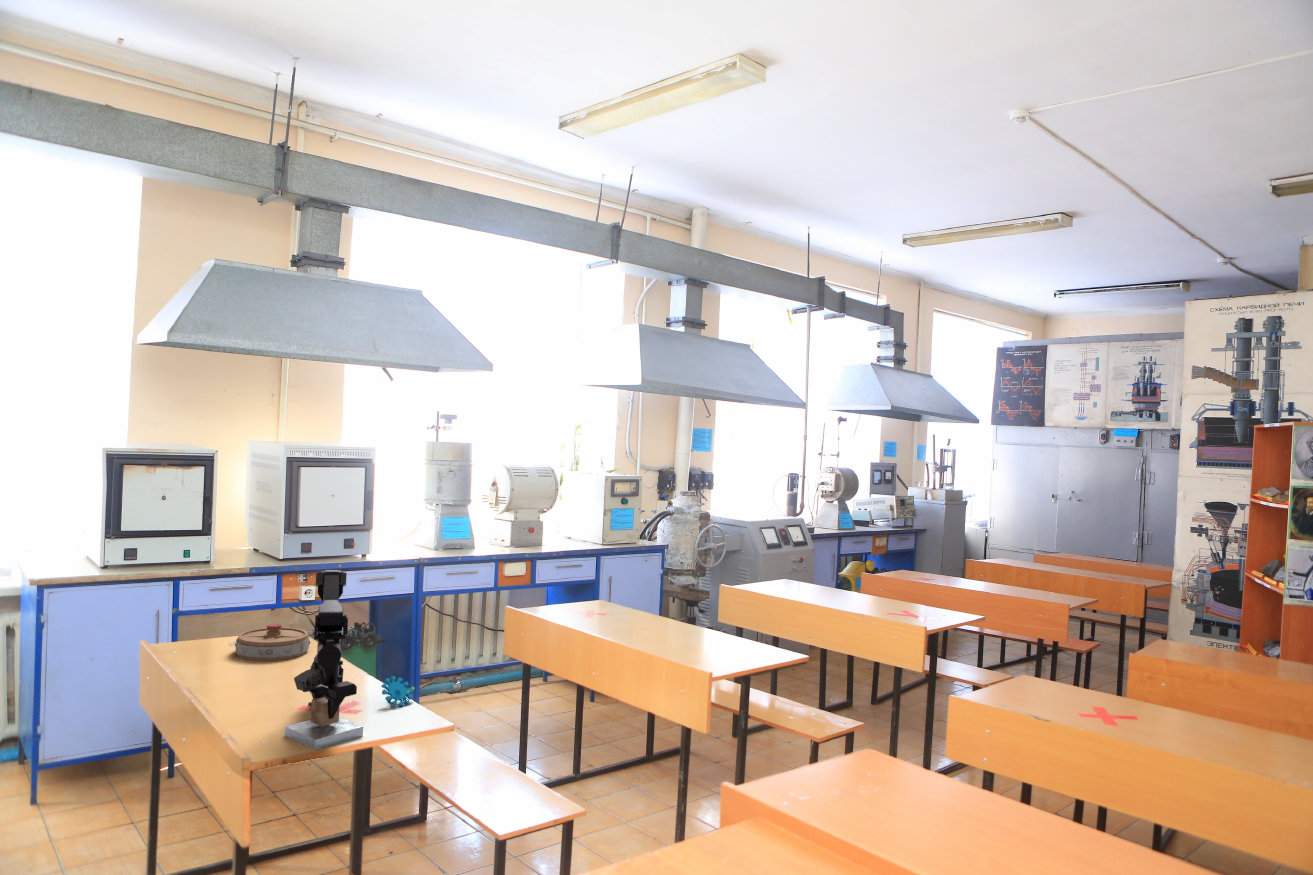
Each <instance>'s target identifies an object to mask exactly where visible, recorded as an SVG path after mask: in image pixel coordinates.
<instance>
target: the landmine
mask: <svg viewBox="0 0 1313 875" xmlns="http://www.w3.org/2000/svg"><path fill="white" fill-rule="evenodd" d="M310 645H311V640H310V635H309V633H308V631H306V630H304V629H301V628H296V627H282V624H280V623H269V624H267V625H266V627H263V628H257V629H256V628H255V629H248V630H247V631H243V632H241V633H240V634H238V636H237V638H236V640H235V643H234V646H235V653H236V654H237V656H238V657H239V658H241V659H245V660H249V661H259V662H260V661H261V662H262V661H263V662H264V661H265V662H267V661H269V662H270V661H282V660H283V661H284V660H289V659H290V660H291V659H293V658H297V657H298V658H299V657H301V656H303V655H305V654H306V653H307V652H308V650H309V648H310Z"/></svg>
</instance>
